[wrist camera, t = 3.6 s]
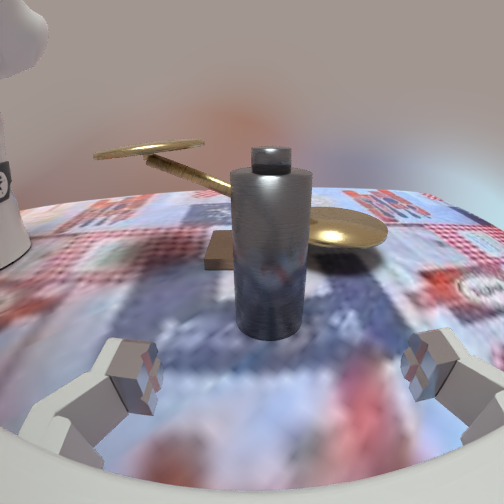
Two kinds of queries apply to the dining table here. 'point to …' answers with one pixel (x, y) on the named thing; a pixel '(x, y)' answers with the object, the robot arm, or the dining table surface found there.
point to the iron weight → (270, 243)
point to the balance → (221, 244)
